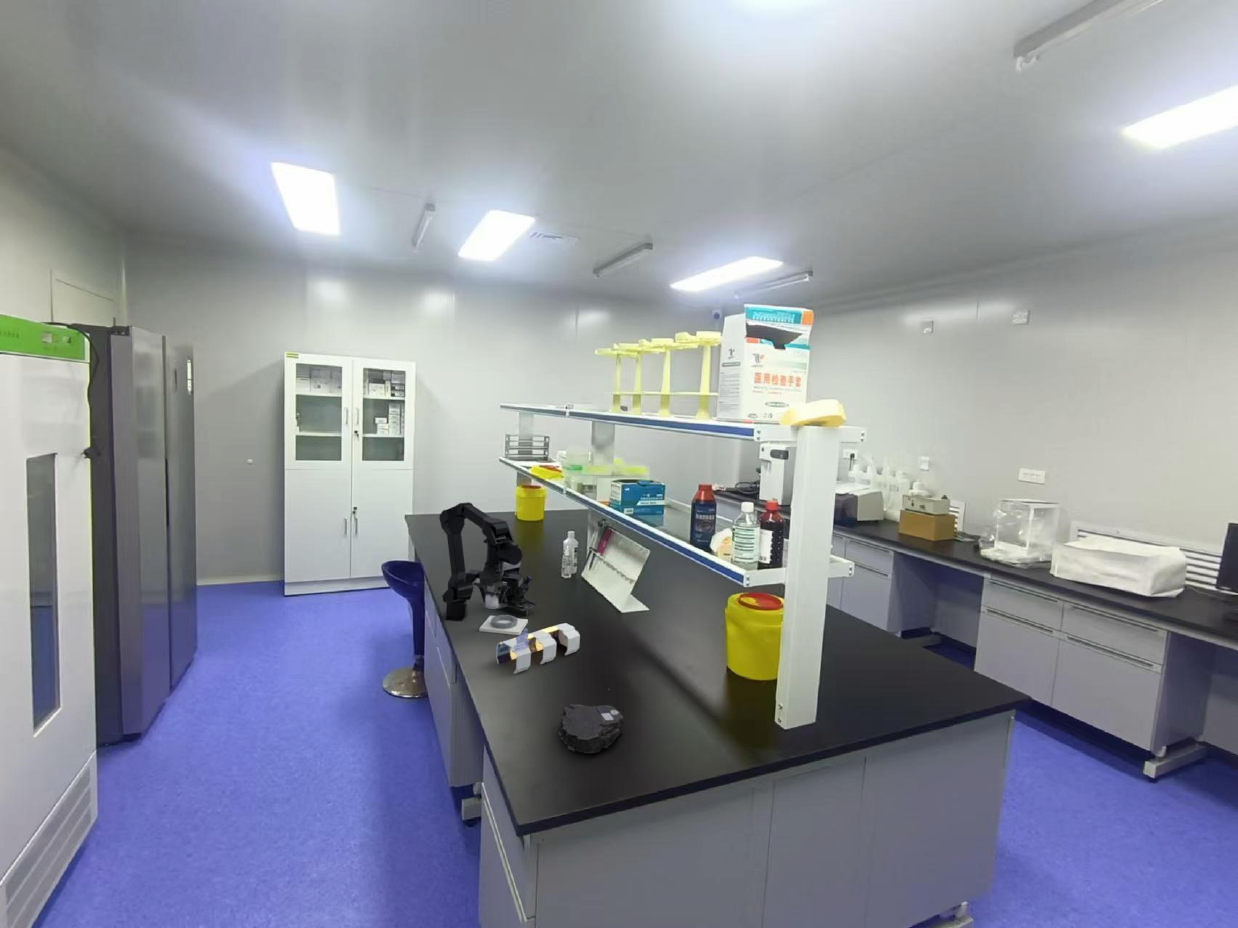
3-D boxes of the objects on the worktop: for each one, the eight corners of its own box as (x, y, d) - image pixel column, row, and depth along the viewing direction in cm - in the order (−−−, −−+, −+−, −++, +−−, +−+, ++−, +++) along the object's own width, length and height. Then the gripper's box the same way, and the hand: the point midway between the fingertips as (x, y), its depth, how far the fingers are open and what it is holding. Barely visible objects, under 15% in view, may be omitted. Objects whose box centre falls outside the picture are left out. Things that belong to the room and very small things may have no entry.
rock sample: (602, 764, 124) (604, 743, 124) (542, 744, 130) (543, 724, 130) (631, 726, 141) (633, 707, 140) (576, 709, 146) (577, 691, 146)
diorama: (515, 676, 162) (518, 633, 161) (495, 663, 169) (497, 621, 168) (578, 653, 180) (581, 614, 179) (557, 642, 187) (560, 604, 186)
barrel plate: (479, 631, 191) (479, 624, 191) (489, 618, 203) (490, 611, 203) (519, 635, 190) (519, 628, 190) (527, 622, 202) (528, 615, 202)
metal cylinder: (482, 607, 187) (483, 593, 186) (487, 602, 191) (488, 588, 191) (496, 609, 186) (497, 595, 185) (501, 604, 191) (502, 590, 190)
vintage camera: (519, 620, 204) (524, 568, 202) (491, 608, 213) (496, 557, 211) (538, 614, 212) (543, 564, 210) (511, 602, 221) (515, 553, 219)
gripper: (458, 561, 180) (456, 608, 182) (515, 567, 178) (512, 614, 180) (471, 552, 191) (469, 596, 193) (524, 558, 189) (521, 603, 191)
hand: (492, 603), depth 189 cm, fingers closed on metal cylinder, 5 cm apart
